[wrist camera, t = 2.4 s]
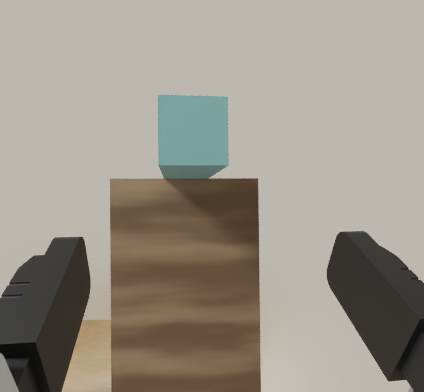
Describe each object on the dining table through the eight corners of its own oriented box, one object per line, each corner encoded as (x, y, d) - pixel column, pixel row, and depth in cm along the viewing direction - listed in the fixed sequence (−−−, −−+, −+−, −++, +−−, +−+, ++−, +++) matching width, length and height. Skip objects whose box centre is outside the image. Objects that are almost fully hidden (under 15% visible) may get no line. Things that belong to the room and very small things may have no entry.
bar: (228, 165, 16) (227, 96, 16) (158, 165, 16) (158, 94, 16) (194, 186, 42) (194, 160, 42) (167, 186, 42) (167, 160, 42)
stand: (278, 578, 25) (273, 177, 26) (96, 607, 24) (93, 178, 24) (235, 422, 43) (232, 186, 44) (129, 432, 42) (127, 187, 42)
